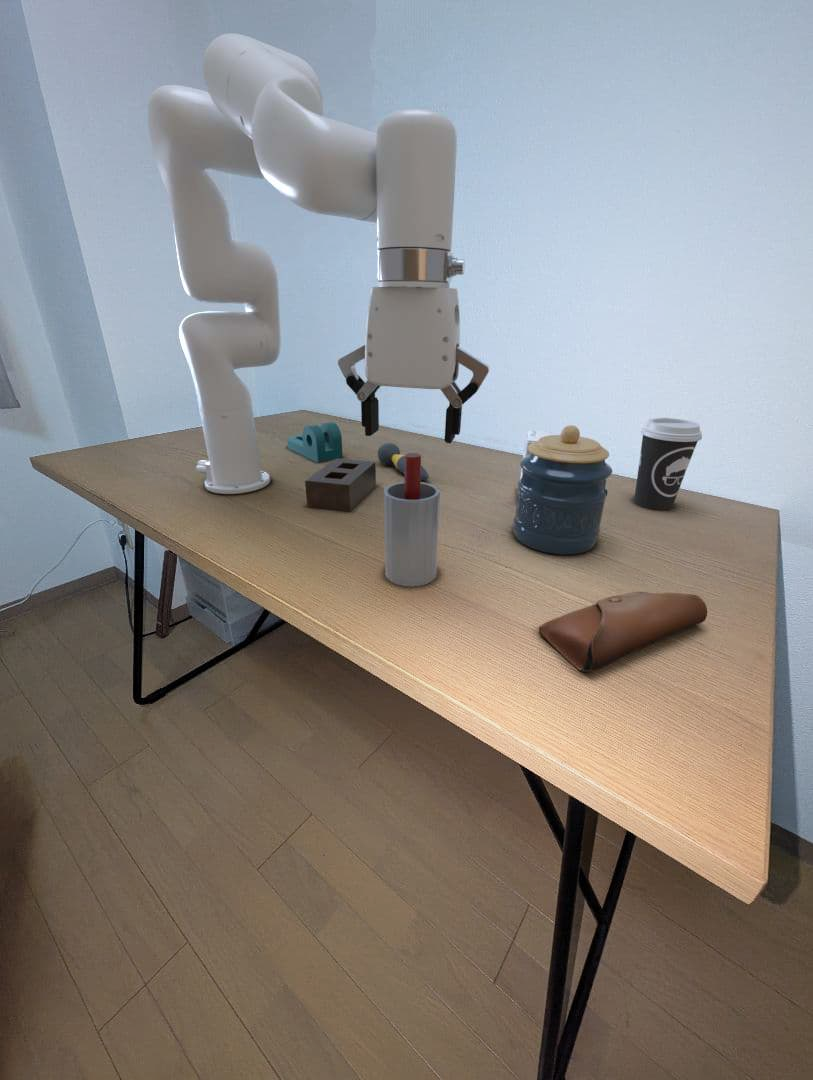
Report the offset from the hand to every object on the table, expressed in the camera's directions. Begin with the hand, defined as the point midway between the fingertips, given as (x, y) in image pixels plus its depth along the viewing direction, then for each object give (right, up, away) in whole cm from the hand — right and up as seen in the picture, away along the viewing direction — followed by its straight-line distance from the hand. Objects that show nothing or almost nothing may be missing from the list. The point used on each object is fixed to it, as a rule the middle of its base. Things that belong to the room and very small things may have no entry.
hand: (410, 436), depth 56 cm
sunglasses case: (+24, -23, -3) cm, 33 cm away
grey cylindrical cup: (0, -17, +8) cm, 19 cm away
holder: (-13, -4, +34) cm, 37 cm away
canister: (+23, -12, +19) cm, 32 cm away
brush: (0, -16, +8) cm, 18 cm away
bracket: (-24, +10, +61) cm, 67 cm away
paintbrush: (-1, +3, +48) cm, 48 cm away
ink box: (+24, -4, +34) cm, 42 cm away
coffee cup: (+46, -6, +32) cm, 56 cm away
